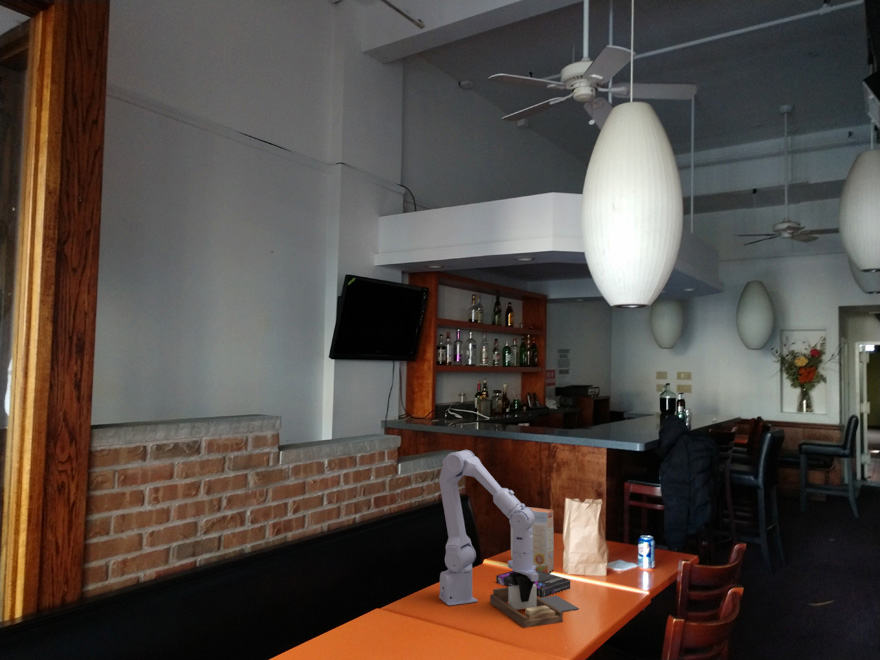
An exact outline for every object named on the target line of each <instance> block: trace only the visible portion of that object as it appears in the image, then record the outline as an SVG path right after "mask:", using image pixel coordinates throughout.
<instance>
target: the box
mask: <svg viewBox="0 0 880 660" xmlns="http://www.w3.org/2000/svg"><path fill="white" fill-rule="evenodd" d="M535 571H536V573H538V581H535V583H534V584H535V585H537V597H538V596H539V597H538V598H541V597H549V596H552V595H554V593H555V594H558V593H561V592H564V591H568V590H570V589H571V579H569V578H566V577H562V576H558V575H555V574H551V573H545V572H542V571H538V570H535ZM512 572H513V570H510V571H507V572H504V573H500V574H497V575H496V576H495V578H496V579H495V581H496V584H498V585H502V586H504V585H505V587H507V586H514V585H513V582H512V579H511V577H510V575H509V573H512ZM567 589H568V590H567ZM563 590H564V591H563ZM560 591H561V592H560ZM557 592H558V593H557ZM551 594H552V595H551Z"/></svg>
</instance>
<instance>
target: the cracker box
mask: <svg viewBox="0 0 880 660" xmlns="http://www.w3.org/2000/svg"><path fill="white" fill-rule="evenodd" d="M528 507H529V506H528ZM529 508H531V509H532V511H533V512H534V514H535V522H534V524H533V525H532V526H531V527H533V565H534V566H536V569H535V570H538V571H542V572H545V573H548V574H550V573H551V572H550V571H552V570H553V569H554V570H555V560H554V559H555V553H554V551H555V550H554V548H555V546H554V545H555V544H554V543H555V542H554V534H555V533H554V510H553V509H548V508H540V507H529ZM529 528H530V527H529ZM512 560H513V528H512V527H511V526H510V561H512ZM554 570H553V571H554ZM553 571H552V572H553ZM549 572H550V573H549Z"/></svg>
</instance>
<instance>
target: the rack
mask: <svg viewBox="0 0 880 660" xmlns="http://www.w3.org/2000/svg"><path fill="white" fill-rule="evenodd" d="M508 589H509V587H507V586H505V587H500V588H499V587H498V588H493V589H492V590H493V593H492V594H489V603H490V604H491V605H492V606H493V607H495V608H496V609H498V610H499V612H502V614H504V615H506V616H507V617H508V618H510V619H511V620H513V621H514V622H515V623H516V624H518V625H520V626H521V627H522V628H529V627H537V626H544V625H545V626H546V625H551V624H557V623H562V622H564V621H563V620H564V616H563V615H564V614H563V613H564V612H561V611H560V610H558V609H556V608H555V607H553V606H551V605H550V604H548V603H546V602H545V601H543V600H541V599H540V598H541V597H538V596H537V607H538V606H544V605H545V606H547V607H549V609H551V610H553V611H555V616H550V617H543V618H537V619H530V620H527V617H526V616H525V615H524V614H523V613H521V612H520V611H519V610H518V609H517V610H515V609H514V608H513V607H511V606H510V605H508Z"/></svg>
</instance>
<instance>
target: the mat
mask: <svg viewBox="0 0 880 660" xmlns="http://www.w3.org/2000/svg"><path fill="white" fill-rule="evenodd" d="M539 598H540V599H541V600H543V601H545V602H546V603H548V604H550V605H551V606H553V607H555V608H556V609H558V610H560V611H561V612H563V613H566V612H565V611H567V612H572V611H571V610H573V611H578V609H579V610H580V608H579V607H578V606H576V605H574V604H572V603H570V602H569V601H567V600H565V599H563V598H561V597H560V596H558V595H549V596H546V597H542V598H541V597H539Z"/></svg>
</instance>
